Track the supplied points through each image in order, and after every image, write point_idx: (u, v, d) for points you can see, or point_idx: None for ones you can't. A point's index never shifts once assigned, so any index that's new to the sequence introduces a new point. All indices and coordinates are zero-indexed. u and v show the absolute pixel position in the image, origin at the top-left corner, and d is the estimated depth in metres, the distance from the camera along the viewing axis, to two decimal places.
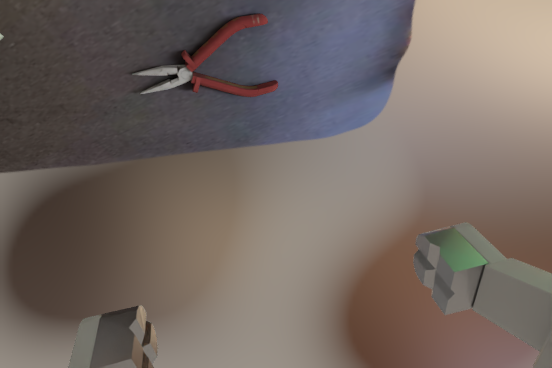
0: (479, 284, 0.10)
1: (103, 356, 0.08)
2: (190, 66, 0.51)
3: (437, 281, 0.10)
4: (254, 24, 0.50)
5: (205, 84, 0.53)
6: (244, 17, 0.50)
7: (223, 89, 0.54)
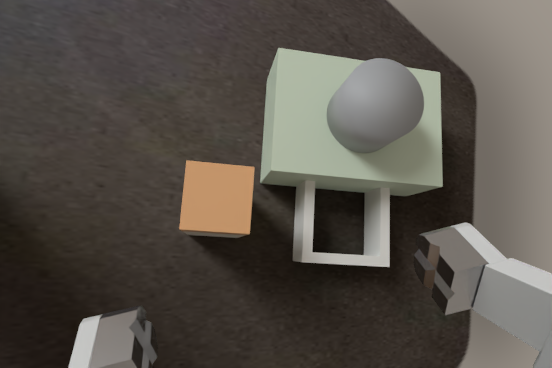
0: (479, 284, 0.10)
1: (103, 356, 0.08)
2: None
3: (437, 281, 0.10)
4: None
5: None
6: None
7: None
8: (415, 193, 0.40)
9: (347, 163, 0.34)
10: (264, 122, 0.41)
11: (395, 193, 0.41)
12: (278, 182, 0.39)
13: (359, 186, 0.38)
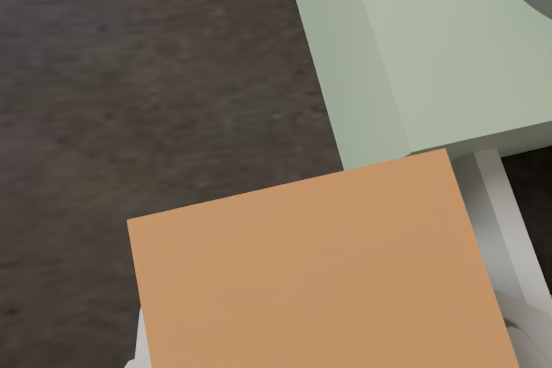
0: None
1: None
2: None
3: None
4: None
5: None
6: None
7: None
8: None
9: None
10: (315, 64, 0.19)
11: None
12: None
13: None
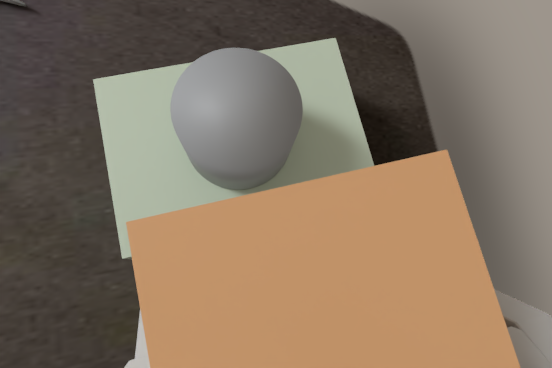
0: None
1: None
2: None
3: None
4: None
5: None
6: None
7: None
8: None
9: None
10: None
11: None
12: None
13: None
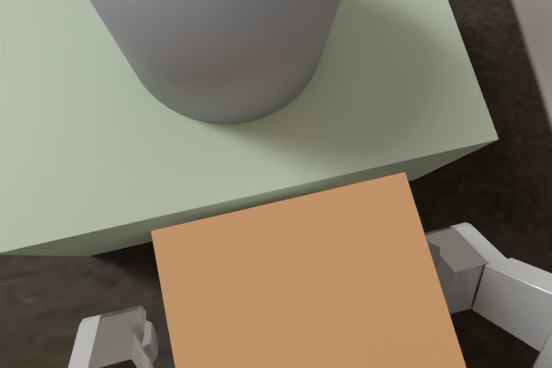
0: (479, 284, 0.10)
1: (102, 357, 0.08)
2: None
3: None
4: None
5: None
6: None
7: None
8: (432, 170, 0.18)
9: (217, 160, 0.12)
10: None
11: None
12: (115, 246, 0.17)
13: None
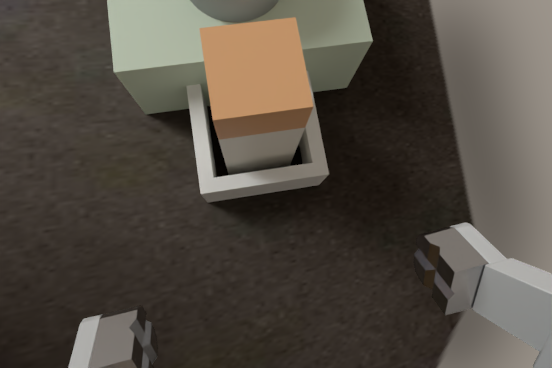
0: (479, 284, 0.10)
1: (103, 357, 0.08)
2: None
3: (437, 281, 0.10)
4: None
5: None
6: None
7: None
8: (352, 74, 0.29)
9: None
10: None
11: (328, 83, 0.30)
12: (162, 104, 0.29)
13: None
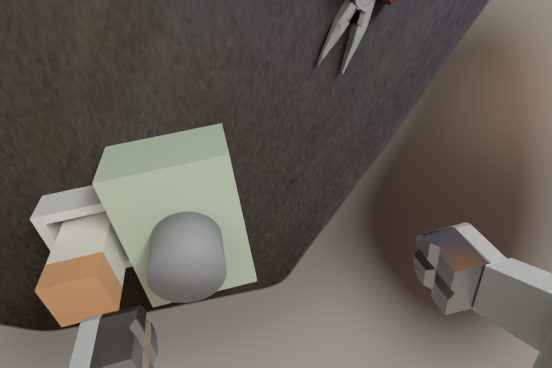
0: (479, 284, 0.10)
1: (103, 357, 0.08)
2: None
3: (437, 281, 0.10)
4: None
5: None
6: None
7: None
8: None
9: (136, 241, 0.36)
10: (172, 134, 0.38)
11: None
12: None
13: None
